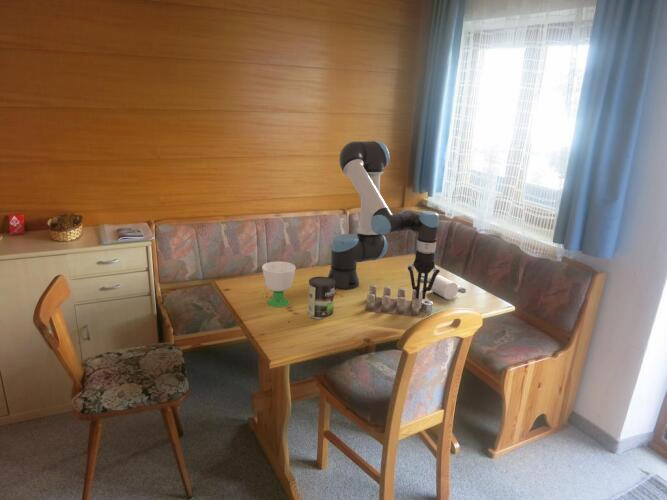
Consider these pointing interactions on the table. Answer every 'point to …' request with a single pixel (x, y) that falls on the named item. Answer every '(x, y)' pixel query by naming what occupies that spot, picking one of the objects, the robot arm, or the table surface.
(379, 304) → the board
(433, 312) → the pad
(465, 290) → the adjustable wrench
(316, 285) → the coffee can
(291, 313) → the table surface
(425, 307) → the nut
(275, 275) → the cup
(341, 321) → the table surface
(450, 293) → the mug
